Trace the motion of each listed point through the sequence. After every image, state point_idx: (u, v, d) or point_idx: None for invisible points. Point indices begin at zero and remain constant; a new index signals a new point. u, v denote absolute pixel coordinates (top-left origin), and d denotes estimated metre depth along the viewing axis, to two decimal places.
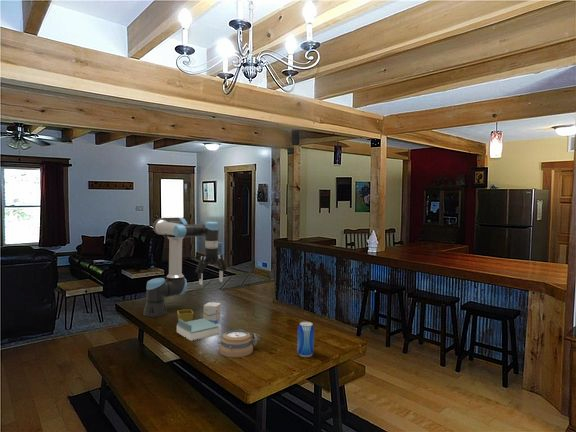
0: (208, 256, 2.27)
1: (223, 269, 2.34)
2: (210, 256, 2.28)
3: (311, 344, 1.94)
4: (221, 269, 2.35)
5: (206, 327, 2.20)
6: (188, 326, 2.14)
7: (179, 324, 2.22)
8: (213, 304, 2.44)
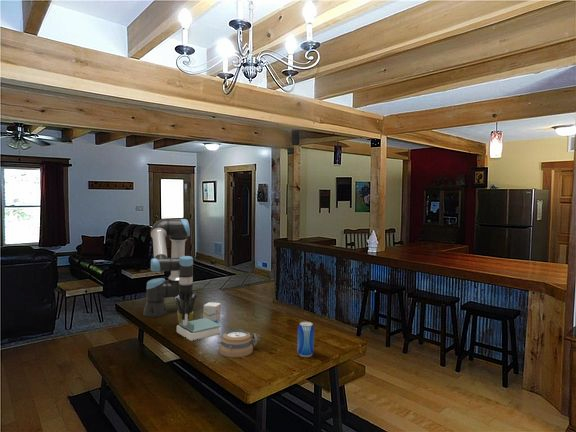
0: (181, 293, 2.15)
1: (188, 312, 2.18)
2: (182, 292, 2.15)
3: (311, 344, 1.94)
4: (186, 311, 2.19)
5: (209, 326, 2.21)
6: (190, 325, 2.15)
7: (181, 324, 2.23)
8: (213, 304, 2.44)
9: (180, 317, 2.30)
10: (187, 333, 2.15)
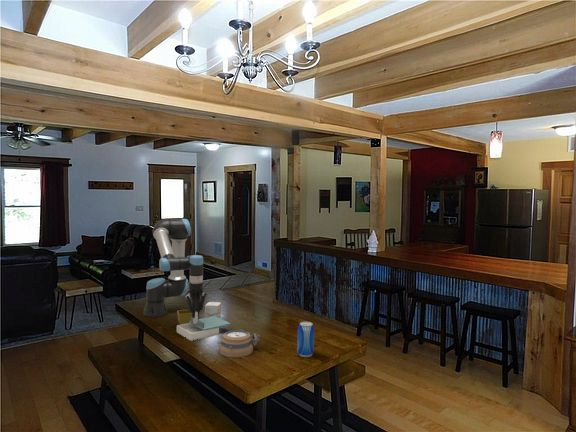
0: (191, 292, 2.19)
1: (198, 310, 2.22)
2: (193, 290, 2.19)
3: (311, 344, 1.94)
4: (196, 310, 2.23)
5: (218, 324, 2.25)
6: (201, 323, 2.19)
7: (191, 321, 2.27)
8: (214, 303, 2.45)
9: (180, 317, 2.30)
10: (187, 333, 2.15)
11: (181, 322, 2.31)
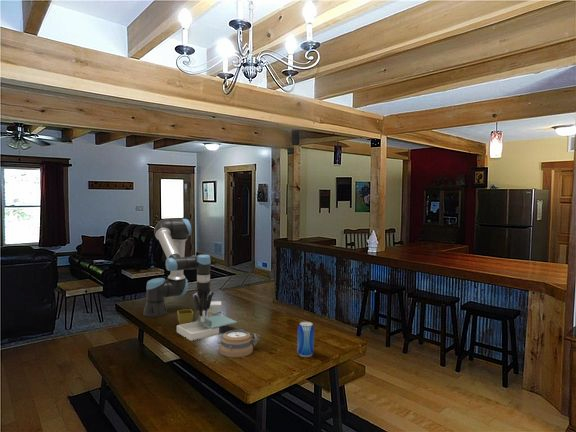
0: (199, 290, 2.22)
1: (206, 308, 2.26)
2: (200, 289, 2.23)
3: (311, 344, 1.94)
4: (203, 308, 2.26)
5: (225, 322, 2.28)
6: (208, 322, 2.22)
7: (199, 320, 2.30)
8: (216, 303, 2.47)
9: (180, 317, 2.30)
10: (187, 333, 2.15)
11: (181, 322, 2.31)
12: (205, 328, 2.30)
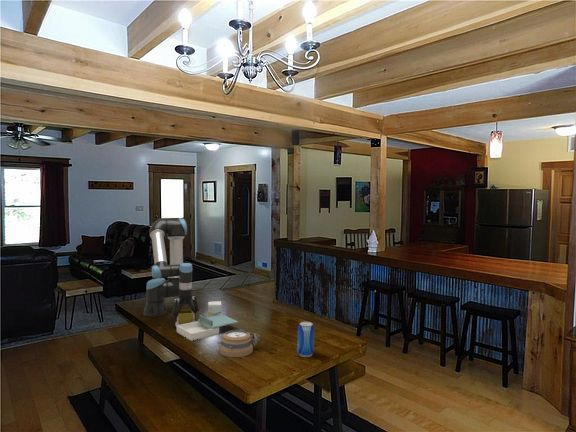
0: (181, 297, 2.32)
1: (195, 311, 2.39)
2: (183, 297, 2.33)
3: (311, 344, 1.94)
4: (193, 311, 2.39)
5: (226, 322, 2.29)
6: (209, 321, 2.23)
7: (200, 320, 2.31)
8: (216, 303, 2.47)
9: (180, 317, 2.30)
10: (187, 333, 2.15)
11: (181, 322, 2.31)
12: (205, 328, 2.30)
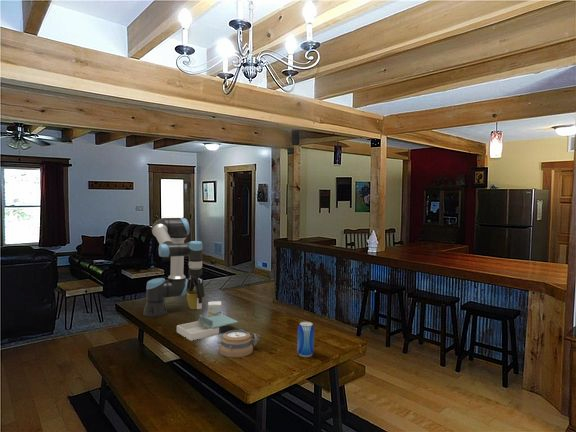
0: (191, 276, 2.23)
1: None
2: (192, 276, 2.22)
3: (311, 344, 1.94)
4: None
5: (226, 322, 2.29)
6: (209, 321, 2.23)
7: (200, 320, 2.31)
8: (216, 303, 2.47)
9: None
10: (187, 333, 2.15)
11: (187, 300, 2.23)
12: (205, 328, 2.30)
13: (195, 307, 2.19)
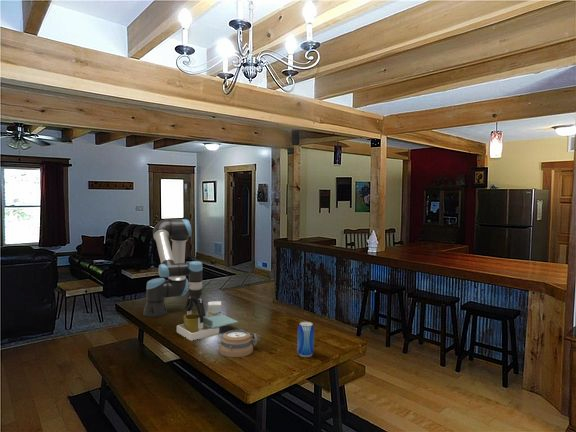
0: (191, 296, 2.23)
1: (199, 315, 2.15)
2: (192, 297, 2.22)
3: (311, 344, 1.94)
4: None
5: (226, 322, 2.29)
6: (209, 321, 2.23)
7: None
8: (216, 303, 2.47)
9: (184, 318, 2.24)
10: (187, 333, 2.15)
11: (184, 324, 2.24)
12: (205, 328, 2.30)
13: (193, 331, 2.21)
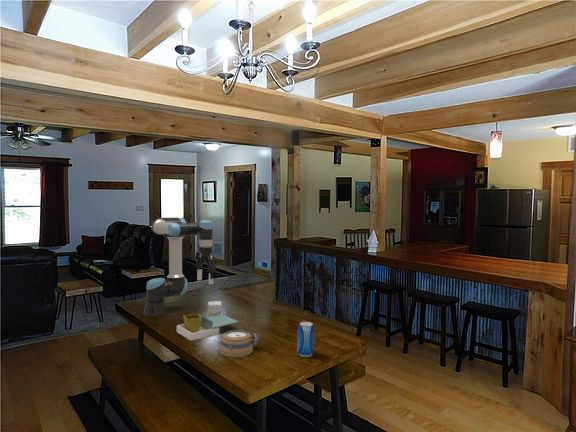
0: (201, 254, 2.30)
1: (210, 271, 2.22)
2: (202, 254, 2.29)
3: (311, 344, 1.94)
4: None
5: (226, 322, 2.29)
6: (209, 321, 2.23)
7: None
8: (216, 303, 2.47)
9: None
10: (187, 333, 2.15)
11: (184, 324, 2.24)
12: (205, 328, 2.30)
13: (193, 331, 2.21)
